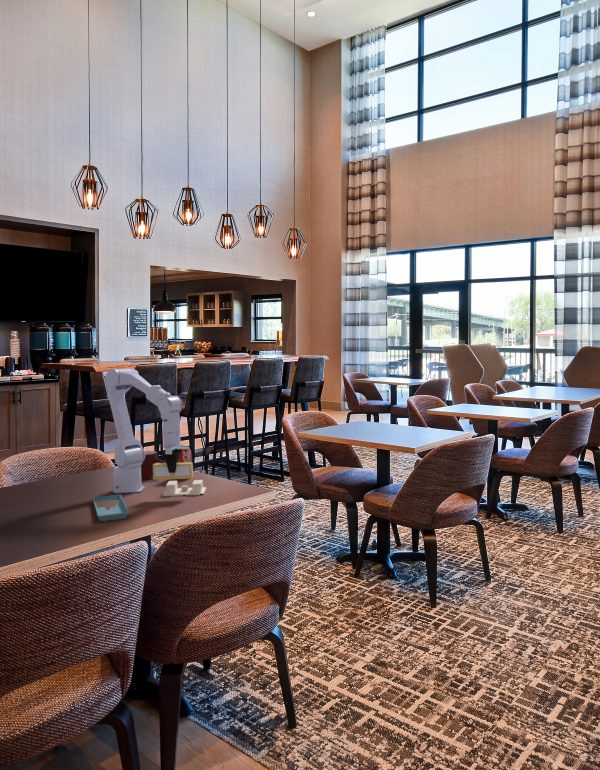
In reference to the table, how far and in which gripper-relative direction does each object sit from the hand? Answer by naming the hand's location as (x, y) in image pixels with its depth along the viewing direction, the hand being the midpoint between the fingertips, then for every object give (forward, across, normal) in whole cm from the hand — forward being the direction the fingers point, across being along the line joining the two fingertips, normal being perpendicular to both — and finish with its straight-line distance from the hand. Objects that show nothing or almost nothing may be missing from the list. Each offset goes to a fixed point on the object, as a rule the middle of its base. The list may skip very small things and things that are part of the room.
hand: (173, 471), depth 214 cm
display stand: (+9, +6, -3) cm, 11 cm away
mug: (+9, +32, +15) cm, 36 cm away
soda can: (+9, +30, +2) cm, 31 cm away
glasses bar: (+2, 0, 0) cm, 2 cm away
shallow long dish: (+10, -14, +18) cm, 25 cm away
